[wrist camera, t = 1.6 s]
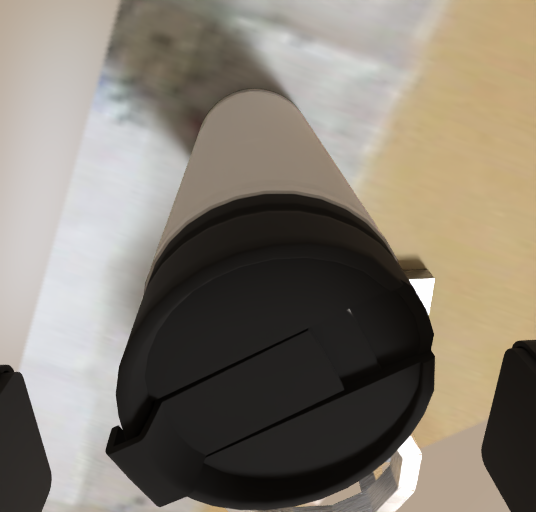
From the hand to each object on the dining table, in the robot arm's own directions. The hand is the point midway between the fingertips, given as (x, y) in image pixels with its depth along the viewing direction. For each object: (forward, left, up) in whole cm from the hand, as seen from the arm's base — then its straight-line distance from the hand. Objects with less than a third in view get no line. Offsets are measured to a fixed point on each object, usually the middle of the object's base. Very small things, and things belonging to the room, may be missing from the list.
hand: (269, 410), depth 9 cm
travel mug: (-1, 0, -19) cm, 19 cm away
